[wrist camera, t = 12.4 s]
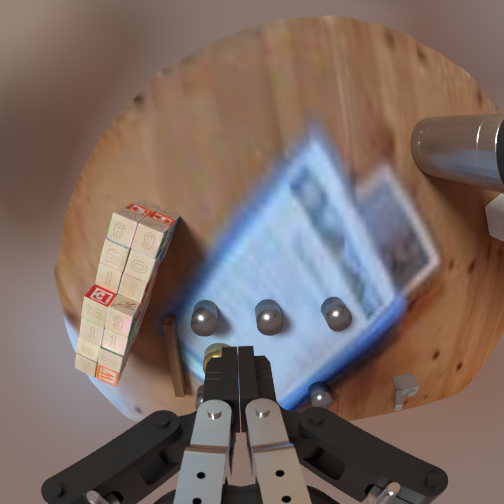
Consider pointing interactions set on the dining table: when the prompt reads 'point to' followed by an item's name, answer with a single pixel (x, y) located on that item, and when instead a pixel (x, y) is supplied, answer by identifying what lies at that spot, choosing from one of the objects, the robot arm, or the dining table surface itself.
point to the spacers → (274, 332)
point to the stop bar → (174, 355)
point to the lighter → (404, 389)
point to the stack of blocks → (122, 288)
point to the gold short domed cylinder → (213, 352)
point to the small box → (496, 217)
